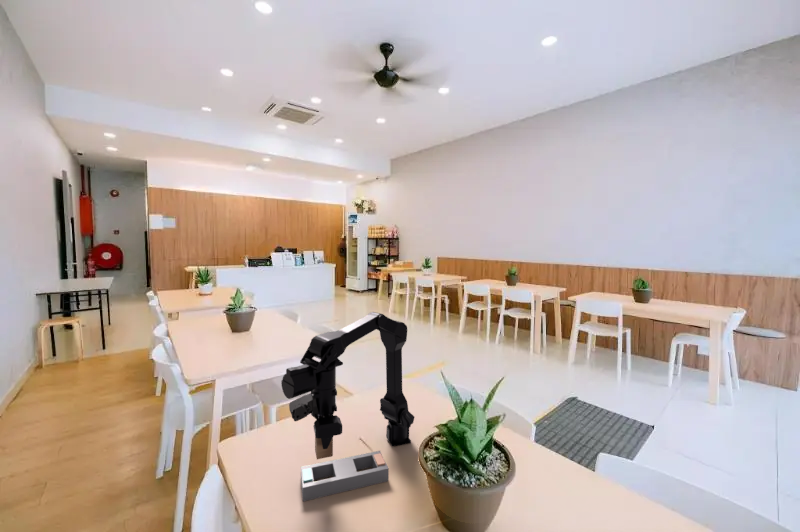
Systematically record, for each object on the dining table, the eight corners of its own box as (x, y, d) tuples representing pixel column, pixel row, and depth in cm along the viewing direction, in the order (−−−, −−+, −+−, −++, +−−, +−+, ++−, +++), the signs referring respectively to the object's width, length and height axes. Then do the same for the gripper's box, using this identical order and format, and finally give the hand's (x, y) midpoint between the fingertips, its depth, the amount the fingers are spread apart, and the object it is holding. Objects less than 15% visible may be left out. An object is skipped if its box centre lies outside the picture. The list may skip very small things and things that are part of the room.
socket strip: (379, 462, 96) (380, 449, 95) (388, 480, 88) (388, 467, 88) (300, 479, 88) (300, 465, 88) (302, 501, 80) (302, 486, 80)
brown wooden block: (330, 447, 88) (330, 418, 88) (332, 456, 84) (332, 426, 84) (315, 450, 87) (315, 420, 86) (316, 459, 83) (316, 428, 82)
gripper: (290, 375, 90) (290, 429, 91) (292, 407, 73) (292, 474, 74) (331, 370, 94) (330, 423, 95) (342, 400, 77) (342, 464, 78)
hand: (324, 443), depth 85 cm, fingers closed on brown wooden block, 4 cm apart
